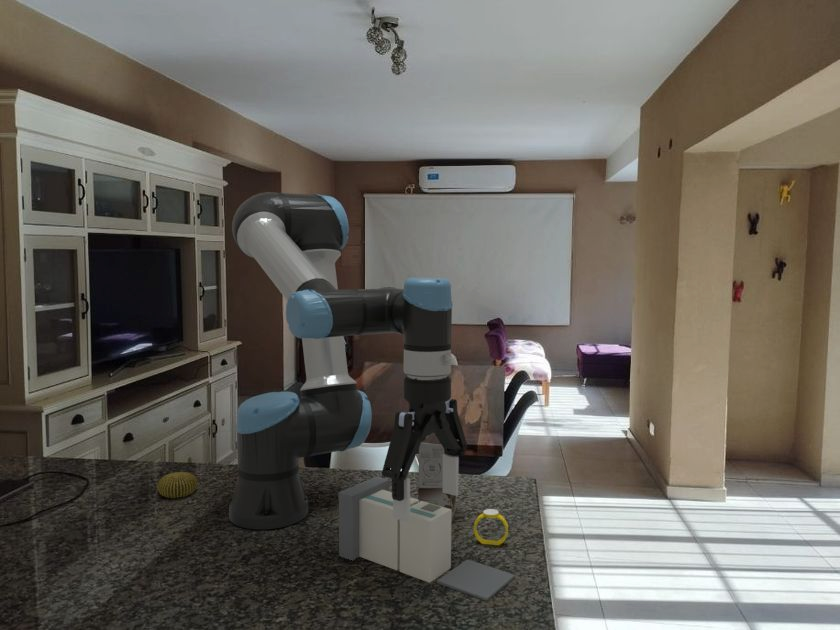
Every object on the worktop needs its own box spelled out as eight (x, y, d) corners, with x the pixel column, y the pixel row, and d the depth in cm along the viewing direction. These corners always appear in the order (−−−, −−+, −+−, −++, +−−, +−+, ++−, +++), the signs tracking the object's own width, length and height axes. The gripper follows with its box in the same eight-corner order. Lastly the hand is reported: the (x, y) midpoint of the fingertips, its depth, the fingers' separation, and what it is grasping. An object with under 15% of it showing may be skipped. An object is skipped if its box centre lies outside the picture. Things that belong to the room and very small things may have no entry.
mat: (436, 583, 104) (436, 580, 104) (467, 561, 111) (467, 559, 111) (486, 601, 99) (486, 598, 99) (515, 577, 106) (515, 575, 106)
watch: (474, 547, 117) (472, 514, 117) (475, 540, 120) (473, 508, 120) (508, 547, 116) (506, 514, 116) (508, 540, 119) (507, 508, 119)
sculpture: (193, 467, 146) (200, 478, 139) (193, 484, 146) (201, 496, 139) (154, 472, 142) (160, 484, 135) (155, 491, 142) (160, 503, 135)
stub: (399, 571, 108) (399, 511, 107) (421, 557, 112) (421, 500, 111) (429, 582, 104) (430, 520, 103) (450, 568, 109) (451, 508, 108)
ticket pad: (334, 554, 113) (334, 491, 112) (371, 534, 121) (372, 475, 120) (389, 575, 106) (390, 507, 105) (425, 552, 114) (426, 489, 113)
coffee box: (450, 527, 125) (451, 444, 123) (416, 524, 126) (417, 441, 124) (457, 509, 134) (458, 431, 132) (425, 506, 135) (426, 428, 133)
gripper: (398, 391, 93) (398, 537, 95) (487, 367, 113) (486, 488, 115) (357, 385, 97) (358, 525, 99) (450, 363, 117) (450, 480, 119)
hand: (427, 505), depth 107 cm, fingers open, 13 cm apart
